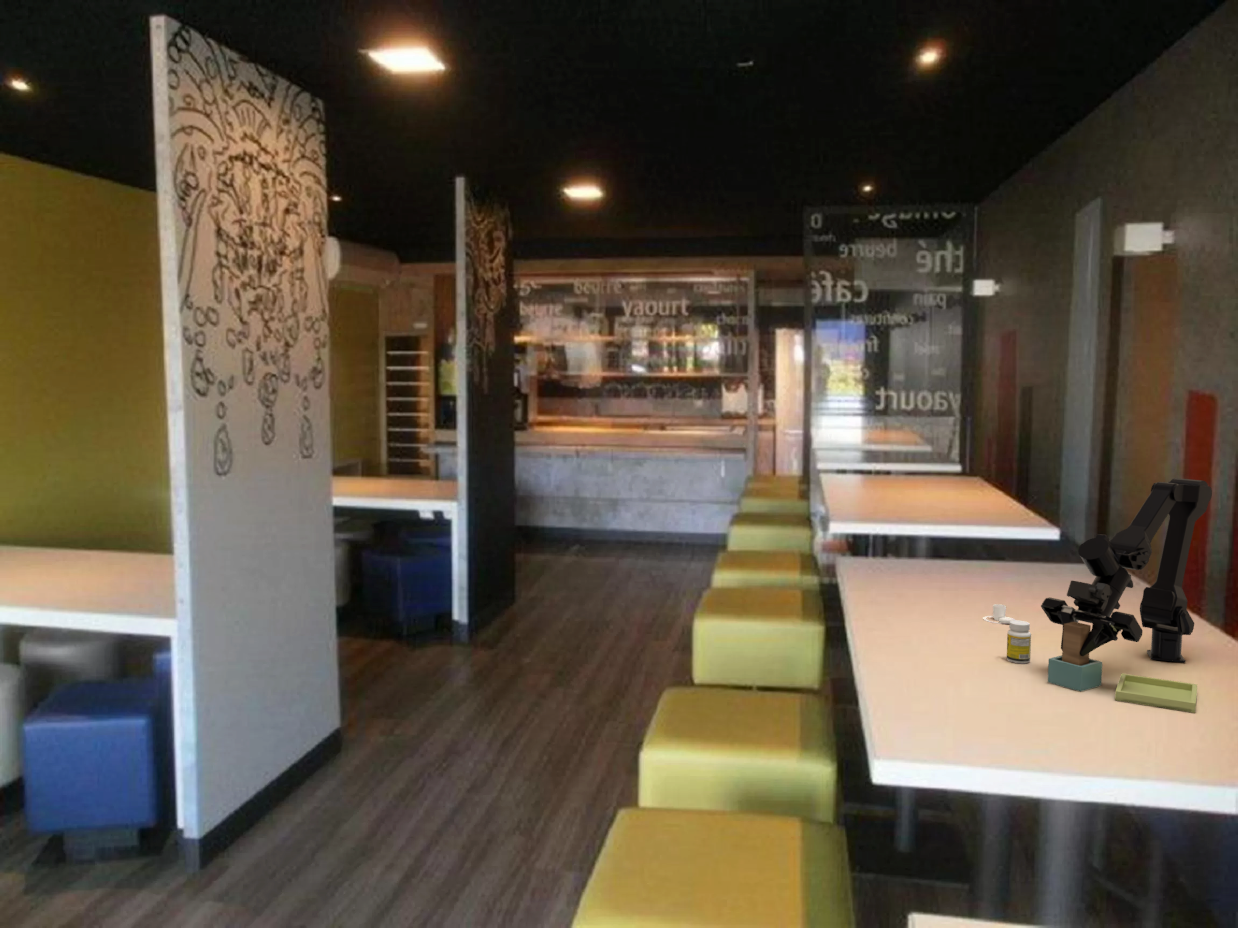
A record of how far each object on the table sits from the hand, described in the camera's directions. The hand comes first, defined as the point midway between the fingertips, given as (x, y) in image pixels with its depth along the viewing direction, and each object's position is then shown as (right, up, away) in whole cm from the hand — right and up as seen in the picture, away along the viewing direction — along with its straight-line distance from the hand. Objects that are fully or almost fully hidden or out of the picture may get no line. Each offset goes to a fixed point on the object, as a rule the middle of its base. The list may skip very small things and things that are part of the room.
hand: (1071, 652), depth 191 cm
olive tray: (+13, -7, -6) cm, 16 cm away
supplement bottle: (-4, -5, +17) cm, 18 cm away
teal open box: (+1, -7, +1) cm, 7 cm away
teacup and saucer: (+4, -3, +50) cm, 51 cm away
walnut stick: (+1, -7, +1) cm, 7 cm away
